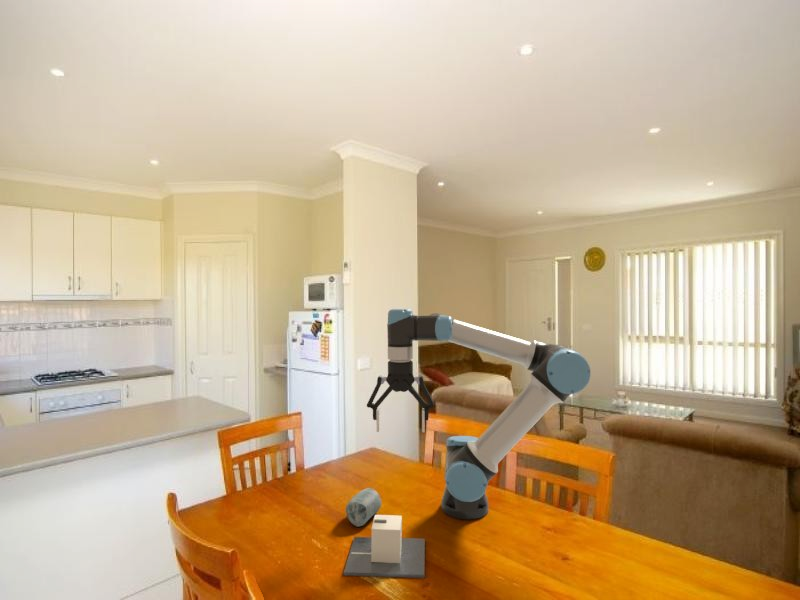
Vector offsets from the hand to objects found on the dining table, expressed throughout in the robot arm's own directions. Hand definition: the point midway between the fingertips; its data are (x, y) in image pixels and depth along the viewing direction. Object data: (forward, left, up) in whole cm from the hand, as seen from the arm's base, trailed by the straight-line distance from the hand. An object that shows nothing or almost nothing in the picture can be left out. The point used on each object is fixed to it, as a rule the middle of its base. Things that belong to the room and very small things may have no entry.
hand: (400, 430), depth 131 cm
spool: (+12, -4, -29) cm, 32 cm away
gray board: (+3, +16, -29) cm, 33 cm away
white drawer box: (+3, +16, -28) cm, 32 cm away
